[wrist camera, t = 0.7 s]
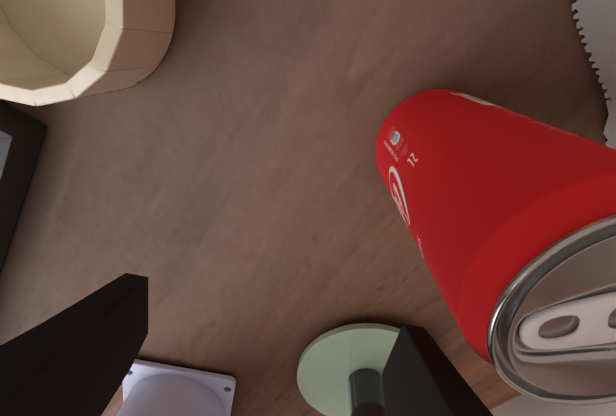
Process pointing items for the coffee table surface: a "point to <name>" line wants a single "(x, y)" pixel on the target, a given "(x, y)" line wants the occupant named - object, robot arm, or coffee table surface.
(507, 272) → the beverage can
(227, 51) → the coffee table surface
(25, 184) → the picture frame
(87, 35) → the cream round pot
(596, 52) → the grey angular bracket
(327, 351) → the cover
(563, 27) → the coffee table surface
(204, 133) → the coffee table surface
